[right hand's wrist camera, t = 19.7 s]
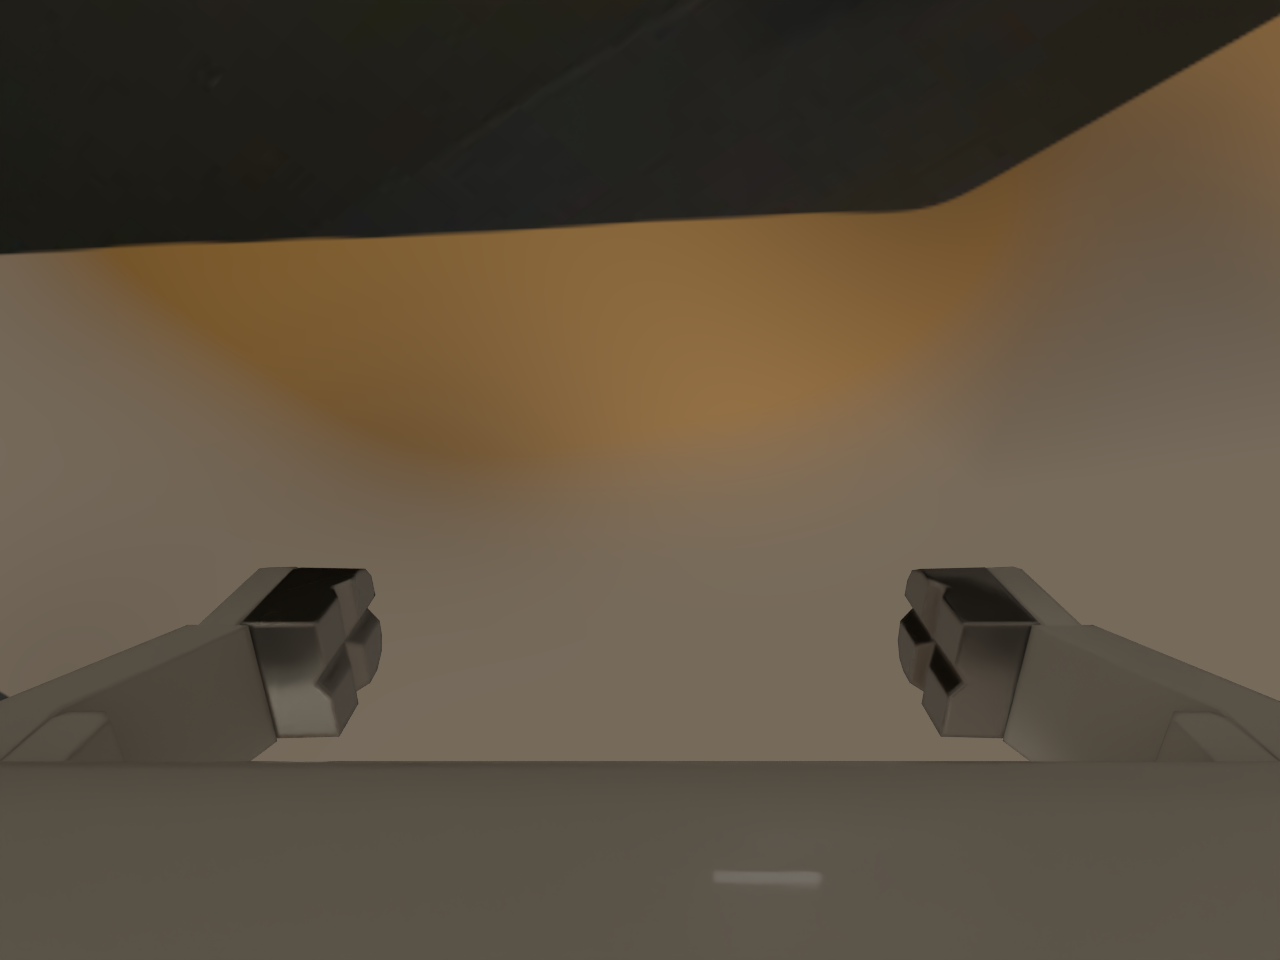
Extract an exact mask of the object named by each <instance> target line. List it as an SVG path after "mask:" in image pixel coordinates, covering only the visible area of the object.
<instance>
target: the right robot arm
mask: <svg viewBox="0 0 1280 960" xmlns="http://www.w3.org/2000/svg"><path fill="white" fill-rule="evenodd" d="M374 596H375V592H374V587H373V582H372V577H371V575H370V574H369V573H368V572H367V570H366V569H347V568H297V567H274V568H260V569H258V570H257V571H256V572H255V573H254V574H253V575H252V576H251V577H250V578H249V579H247V580H246V581H245V582H244V583H243V584H242V585H241V586H240V587H239V588H238V589H237V590H236V591H235V592H233V593H232V594H231V595H230V596H229V597H228V598H227V599H226V600H225V601H224V602H223V603H222V604H221V605H220V606H218V607H217V608H216V609H215V610H214V611H213V612H212V613H211V614H210V615H209V616H208V617H207V618H205V619H204V620H203V621H202V622H201V623H200V624H199V625H186V626H184V627H181V628H179V629H176V630H174V631H171V632H169V633H167V634H164V635H162V636H159V637H157V638H154V639H152V640H149V641H147V642H145V643H142V644H139V645H137V646H135V647H132V648H130V649H127V650H125V651H122V652H120V653H117V654H115V655H112V656H110V657H107V658H105V659H103V660H100V661H98V662H95V663H93V664H90V665H88V666H85V667H83V668H80V669H78V670H76V671H73V672H71V673H68V674H66V675H63V676H61V677H58V678H56V679H53V680H51V681H48V682H46V683H44V684H41V685H39V686H36V687H34V688H31V689H29V690H26V691H24V692H21V693H19V694H17V695H14V696H12V697H9V698H7V699H4V700H2V701H0V960H1280V701H1278V700H1275V699H1273V698H1270V697H1268V696H1265V695H1263V694H1261V693H1258V692H1256V691H1253V690H1251V689H1248V688H1246V687H1243V686H1241V685H1239V684H1236V683H1234V682H1231V681H1229V680H1226V679H1224V678H1221V677H1219V676H1216V675H1214V674H1212V673H1209V672H1207V671H1204V670H1202V669H1199V668H1197V667H1194V666H1192V665H1189V664H1187V663H1185V662H1182V661H1180V660H1177V659H1175V658H1172V657H1170V656H1167V655H1165V654H1162V653H1160V652H1158V651H1155V650H1153V649H1150V648H1148V647H1145V646H1143V645H1140V644H1138V643H1136V642H1133V641H1131V640H1128V639H1126V638H1123V637H1121V636H1118V635H1116V634H1113V633H1111V632H1109V631H1106V630H1104V629H1101V628H1099V627H1096V626H1094V625H1081V624H1080V623H1079V622H1078V621H1077V620H1076V619H1075V618H1074V617H1072V616H1071V615H1070V614H1069V613H1068V612H1067V611H1066V610H1065V609H1064V608H1063V607H1062V606H1061V605H1060V604H1059V603H1057V602H1056V601H1055V600H1054V599H1053V598H1052V597H1051V596H1050V595H1049V594H1048V593H1047V592H1046V591H1045V590H1043V589H1042V588H1041V587H1040V586H1039V585H1038V584H1037V583H1036V582H1035V581H1034V580H1033V579H1032V578H1031V577H1029V576H1028V575H1027V574H1026V573H1025V572H1024V571H1023V570H1022V569H1019V568H1015V567H996V568H945V569H918V570H912V572H911V574H910V576H909V578H908V581H907V586H906V591H905V596H906V598H907V599H908V601H909V603H910V604H911V606H912V607H913V608H912V609H911V610H910V612H909V613H908V614H907V615H906V616H905V617H904V618H903V619H902V620H901V621H900V628H899V636H898V646H899V657H900V661H901V664H902V668H903V671H904V673H905V675H906V677H907V678H908V680H909V682H910V683H911V684H913V685H914V686H916V687H918V688H919V689H921V690H922V691H924V694H923V700H922V705H923V707H924V708H925V710H926V712H927V713H928V715H929V717H930V719H931V720H932V722H933V724H934V725H935V727H936V729H937V731H938V732H939V734H940V736H941V737H976V738H1003V741H1004V742H1005V743H1006V744H1008V745H1009V746H1010V747H1012V748H1013V749H1014V750H1016V751H1017V752H1019V753H1020V754H1021V755H1022V756H1024V757H1025V758H1026V759H1028V760H1029V761H251V760H253V759H254V758H255V757H257V756H258V755H259V754H261V753H262V752H263V751H265V750H266V749H267V748H268V747H270V746H271V745H273V744H274V743H275V742H276V741H277V738H303V737H339V736H340V734H341V732H342V731H343V729H344V727H345V726H346V724H347V722H348V720H349V719H350V717H351V715H352V714H353V712H354V710H355V708H356V706H357V705H358V699H357V694H356V691H358V690H359V689H361V688H363V687H364V686H366V685H367V684H369V683H370V682H371V680H372V678H373V676H374V675H375V673H376V671H377V668H378V664H379V660H380V655H381V651H382V634H381V627H380V621H379V620H378V619H377V618H376V617H375V616H374V615H373V614H372V613H371V612H370V610H369V609H368V608H367V607H368V606H369V604H370V603H371V601H372V599H373V598H374Z"/></svg>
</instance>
